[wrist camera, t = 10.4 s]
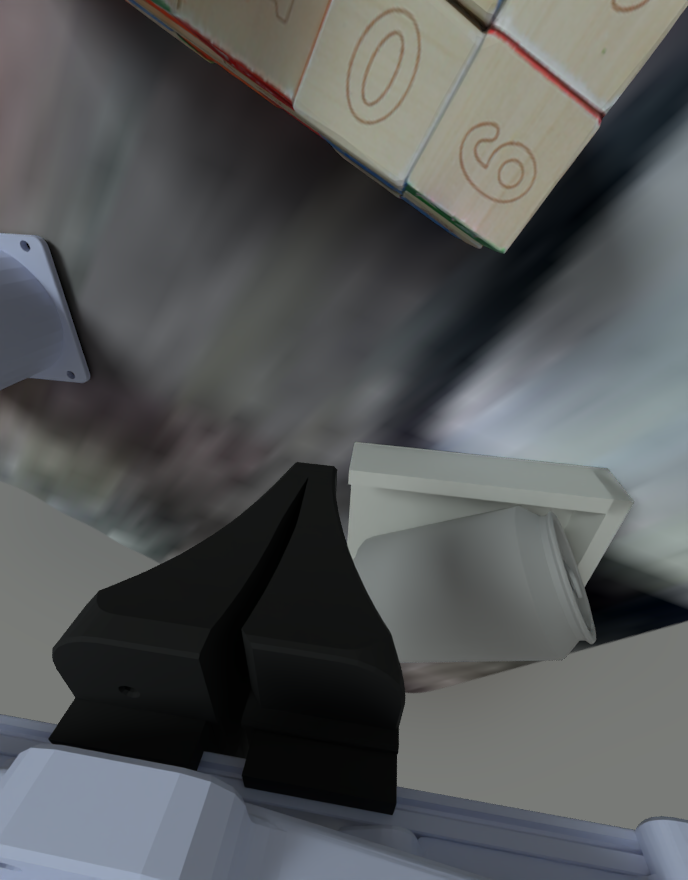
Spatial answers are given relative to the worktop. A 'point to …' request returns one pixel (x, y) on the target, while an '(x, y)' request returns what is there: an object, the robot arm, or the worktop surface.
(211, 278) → the worktop surface
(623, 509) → the tray
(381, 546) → the can
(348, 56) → the stack of blocks
